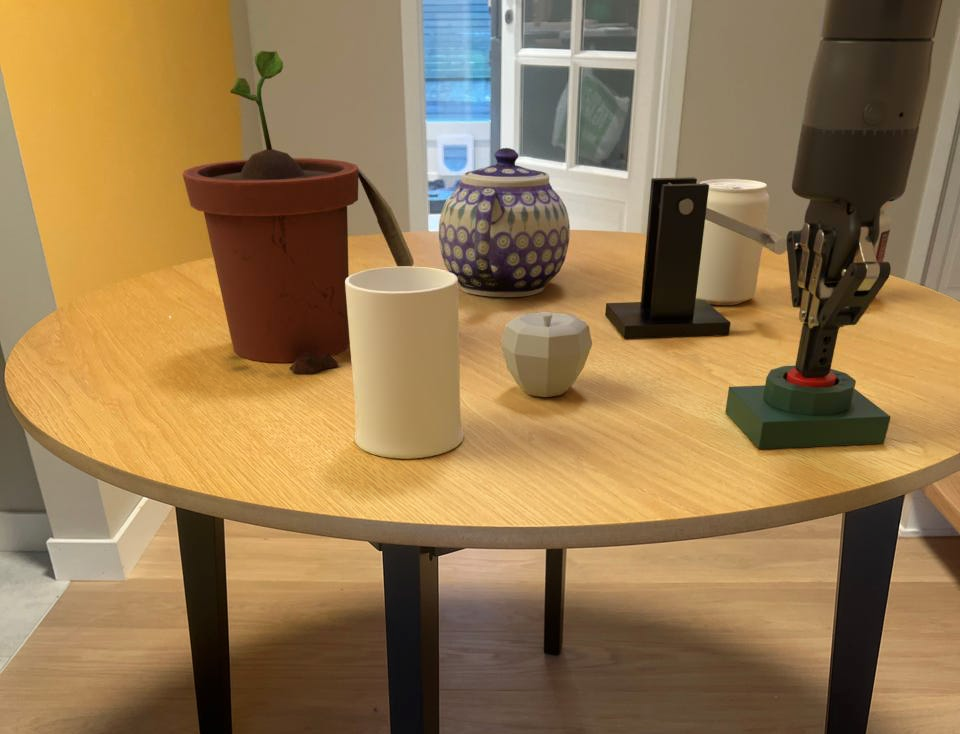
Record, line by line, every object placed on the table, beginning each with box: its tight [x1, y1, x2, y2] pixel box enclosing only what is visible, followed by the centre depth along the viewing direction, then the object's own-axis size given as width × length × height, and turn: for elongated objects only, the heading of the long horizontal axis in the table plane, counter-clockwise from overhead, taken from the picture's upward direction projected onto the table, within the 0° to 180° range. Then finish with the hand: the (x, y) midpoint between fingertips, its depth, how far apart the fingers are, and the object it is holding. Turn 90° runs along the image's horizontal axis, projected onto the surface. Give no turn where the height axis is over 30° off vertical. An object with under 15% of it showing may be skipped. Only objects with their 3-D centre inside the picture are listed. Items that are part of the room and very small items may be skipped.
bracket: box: [604, 176, 731, 340], centre depth 96 cm, size 11×9×14 cm
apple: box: [499, 311, 593, 398], centre depth 81 cm, size 8×8×7 cm
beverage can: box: [696, 178, 770, 306], centre depth 105 cm, size 8×8×12 cm
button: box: [786, 368, 836, 388], centre depth 73 cm, size 4×4×2 cm
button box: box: [724, 364, 891, 450], centre depth 74 cm, size 10×8×4 cm
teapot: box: [438, 147, 571, 298], centre depth 109 cm, size 25×15×15 cm, turn 165°
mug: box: [345, 265, 465, 460], centre depth 72 cm, size 12×8×12 cm
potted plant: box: [182, 50, 415, 374], centre depth 87 cm, size 18×22×25 cm
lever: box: [658, 182, 787, 255], centre depth 94 cm, size 13×5×2 cm, turn 96°
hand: (811, 373), depth 73 cm, fingers closed
